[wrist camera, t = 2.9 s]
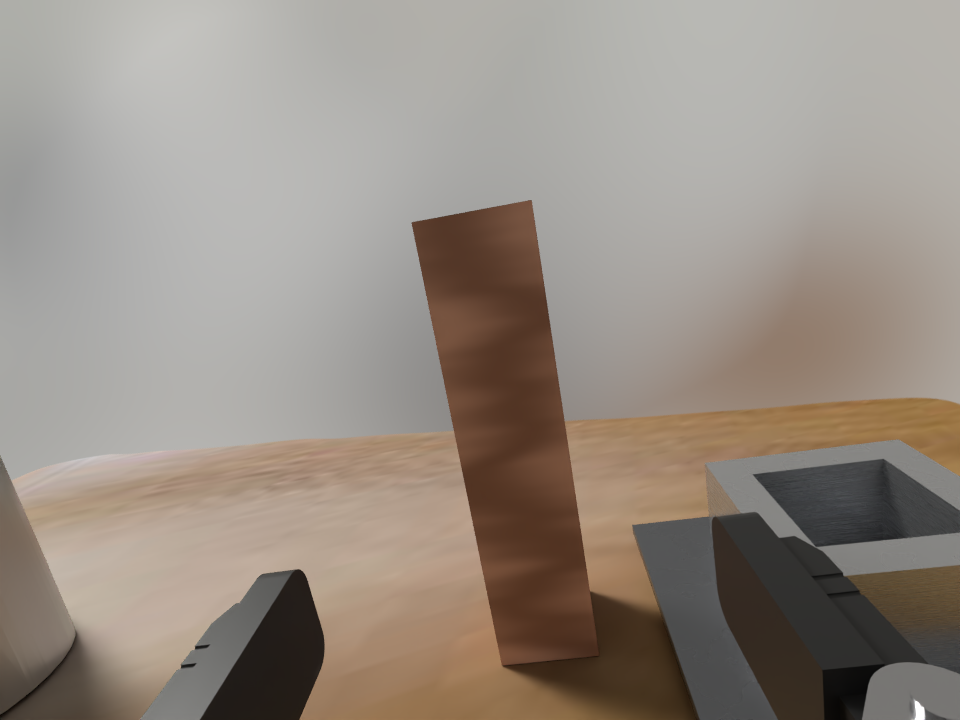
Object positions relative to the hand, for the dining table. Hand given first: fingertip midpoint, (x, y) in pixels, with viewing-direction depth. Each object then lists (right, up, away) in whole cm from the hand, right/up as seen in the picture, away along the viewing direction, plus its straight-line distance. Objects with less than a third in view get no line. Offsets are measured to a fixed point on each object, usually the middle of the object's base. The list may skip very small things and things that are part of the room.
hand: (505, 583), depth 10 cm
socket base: (+15, -6, +12) cm, 21 cm away
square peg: (+2, -7, +14) cm, 16 cm away
